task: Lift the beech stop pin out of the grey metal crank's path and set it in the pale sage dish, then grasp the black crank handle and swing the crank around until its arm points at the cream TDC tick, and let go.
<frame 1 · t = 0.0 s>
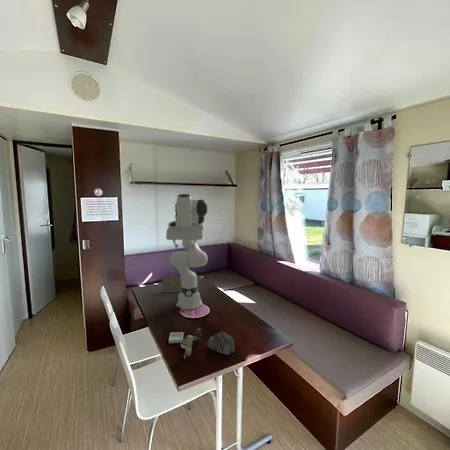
hand: (184, 247, 145), 48 cm above the table, fingers open, 8 cm apart
dish: (176, 339, 138), on the table
mineral rock: (221, 350, 129), on the table
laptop: (172, 289, 213), on the table
stop pin: (188, 354, 125), on the table, tilted 6°
crank: (191, 336, 134), point 4 cm above the table, hinge at 120.0°
crank base: (186, 345, 132), on the table
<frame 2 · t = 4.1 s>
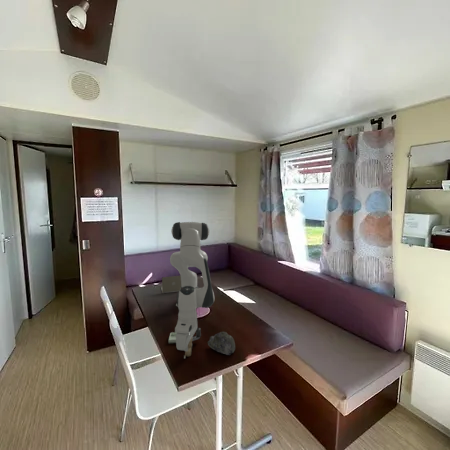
hand: (188, 347, 124), 4 cm above the table, fingers closed on stop pin, 3 cm apart
stop pin: (188, 354, 125), on the table, touching crank base, gripper
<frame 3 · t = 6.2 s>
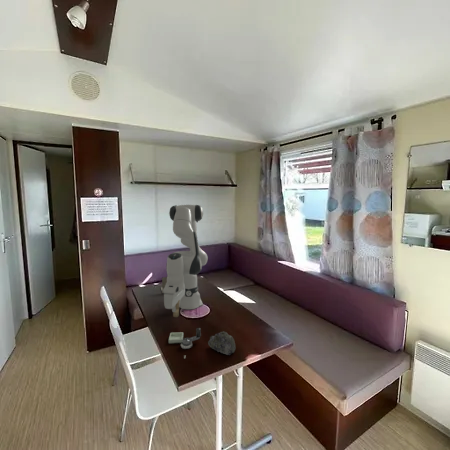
hand: (175, 309, 136), 17 cm above the table, fingers closed on stop pin, 3 cm apart
stop pin: (175, 315, 137), point 13 cm above the table, touching gripper
everything else where it was.
when the fingers open (5 cm above the table, at t = 8.5 s): stop pin stays where it is, resting on dish.
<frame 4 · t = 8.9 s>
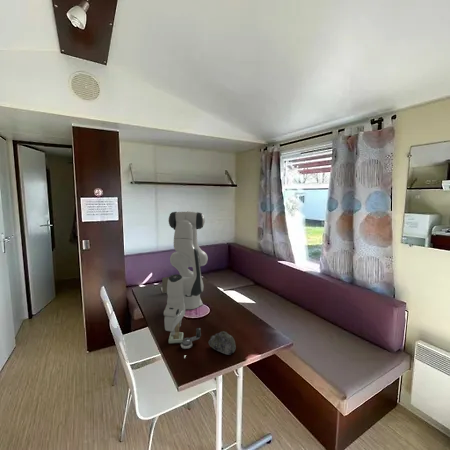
hand: (176, 330, 137), 5 cm above the table, fingers open, 7 cm apart
stop pin: (176, 338, 138), point 1 cm above the table, touching dish
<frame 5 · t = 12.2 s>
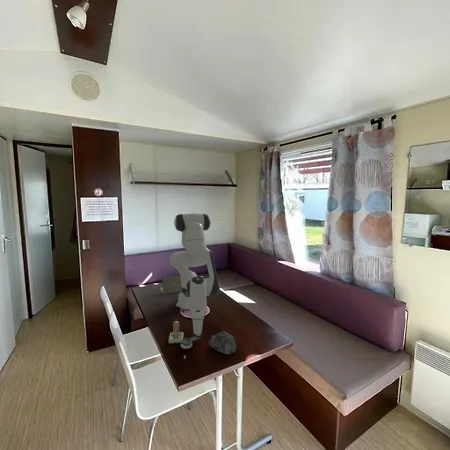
hand: (198, 333, 136), 5 cm above the table, fingers closed on crank, 2 cm apart
crank: (191, 336, 134), point 4 cm above the table, hinge at 120.1°, touching gripper
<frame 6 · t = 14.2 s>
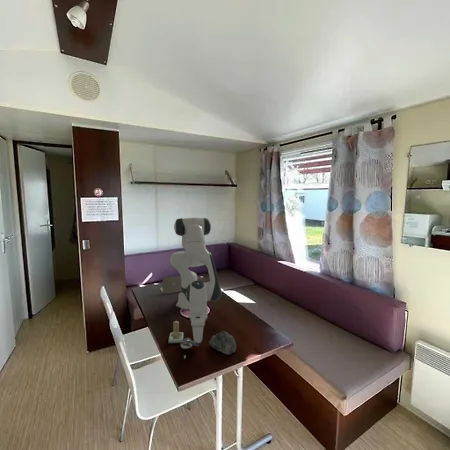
hand: (198, 340, 129), 5 cm above the table, fingers closed on crank, 2 cm apart
crank: (191, 339, 131), point 4 cm above the table, hinge at 62.3°, touching gripper
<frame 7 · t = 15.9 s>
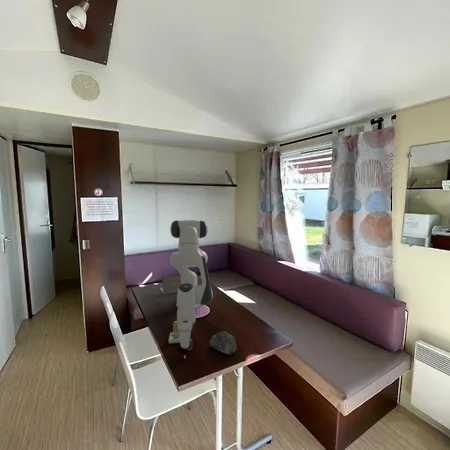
hand: (186, 344, 125), 5 cm above the table, fingers closed
crank: (187, 341, 129), point 4 cm above the table, hinge at 18.9°, touching gripper
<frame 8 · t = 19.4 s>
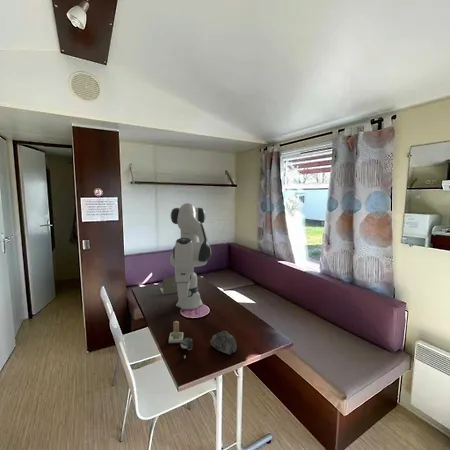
hand: (184, 300, 122), 27 cm above the table, fingers open, 8 cm apart
crank: (187, 341, 129), point 4 cm above the table, hinge at 18.9°
at the end: crank at +19° (first picture: +120°); stop pin inside the target area on the dish (0.0 cm from its centre), point 0.6 cm above the dish's base; the gripper is holding nothing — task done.
